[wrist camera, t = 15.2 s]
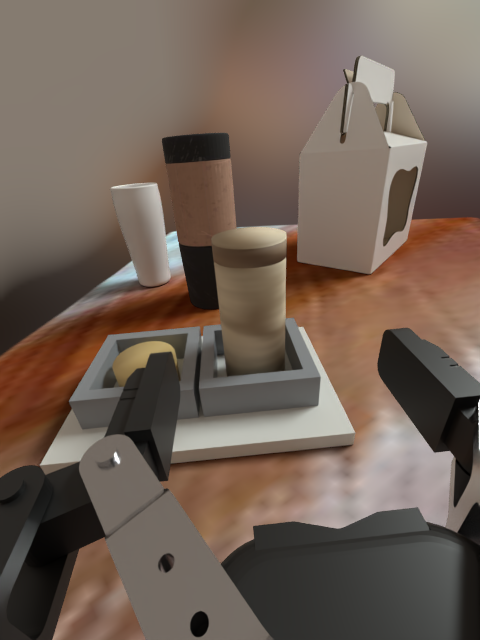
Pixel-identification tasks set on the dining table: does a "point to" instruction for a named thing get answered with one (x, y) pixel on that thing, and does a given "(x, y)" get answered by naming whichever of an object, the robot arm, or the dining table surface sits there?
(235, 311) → the lidded cup
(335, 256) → the gable box
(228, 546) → the dining table surface
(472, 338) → the dining table surface
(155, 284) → the white cylinder
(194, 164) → the travel mug
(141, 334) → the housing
